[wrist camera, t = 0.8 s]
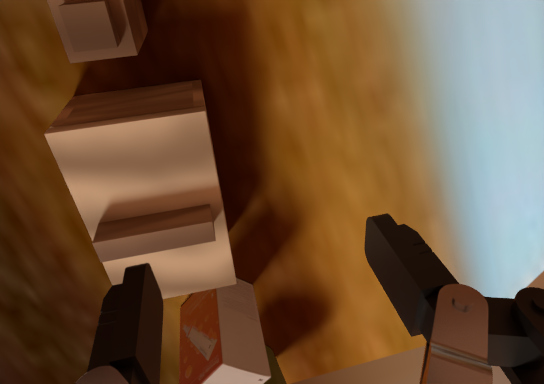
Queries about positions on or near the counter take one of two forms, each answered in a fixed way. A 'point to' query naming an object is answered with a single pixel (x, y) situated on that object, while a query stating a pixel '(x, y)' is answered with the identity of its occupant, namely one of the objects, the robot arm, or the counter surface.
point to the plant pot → (274, 369)
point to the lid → (150, 197)
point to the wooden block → (99, 28)
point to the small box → (222, 338)
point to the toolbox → (133, 105)
